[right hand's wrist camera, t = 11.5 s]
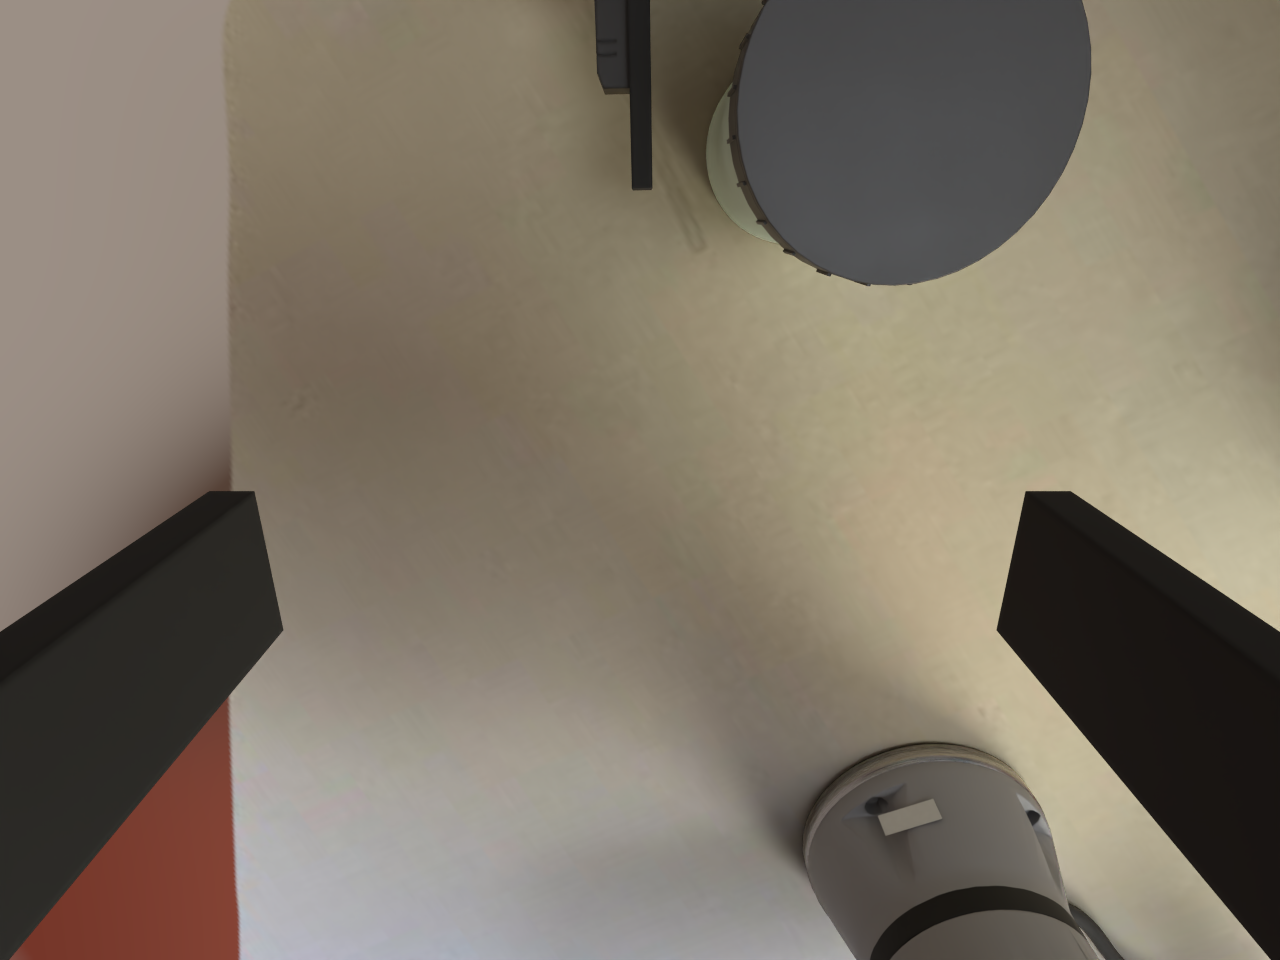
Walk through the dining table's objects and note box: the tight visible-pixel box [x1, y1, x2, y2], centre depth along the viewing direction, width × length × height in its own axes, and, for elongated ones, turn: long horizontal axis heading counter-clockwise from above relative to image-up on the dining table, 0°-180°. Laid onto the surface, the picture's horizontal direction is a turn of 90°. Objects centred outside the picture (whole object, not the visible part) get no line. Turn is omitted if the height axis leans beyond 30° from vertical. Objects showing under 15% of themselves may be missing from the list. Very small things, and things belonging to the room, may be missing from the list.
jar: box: [706, 83, 778, 244], centre depth 26 cm, size 8×8×15 cm
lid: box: [727, 0, 1091, 286], centre depth 19 cm, size 9×9×2 cm
